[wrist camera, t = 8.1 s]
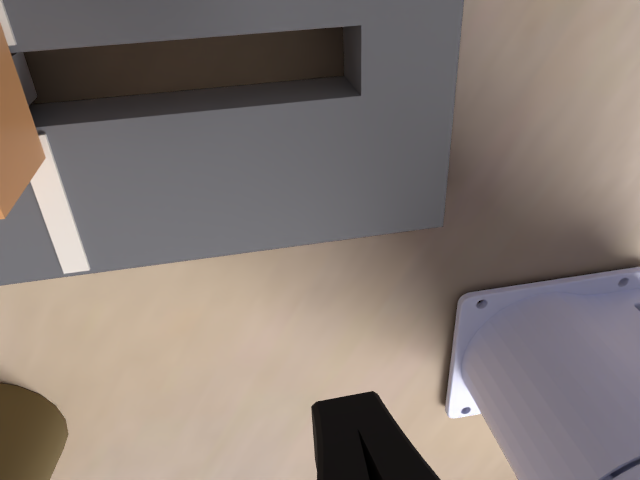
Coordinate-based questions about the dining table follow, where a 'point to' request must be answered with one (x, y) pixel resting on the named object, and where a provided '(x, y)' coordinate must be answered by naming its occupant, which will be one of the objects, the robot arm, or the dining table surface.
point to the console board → (234, 138)
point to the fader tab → (16, 128)
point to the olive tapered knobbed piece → (29, 434)
